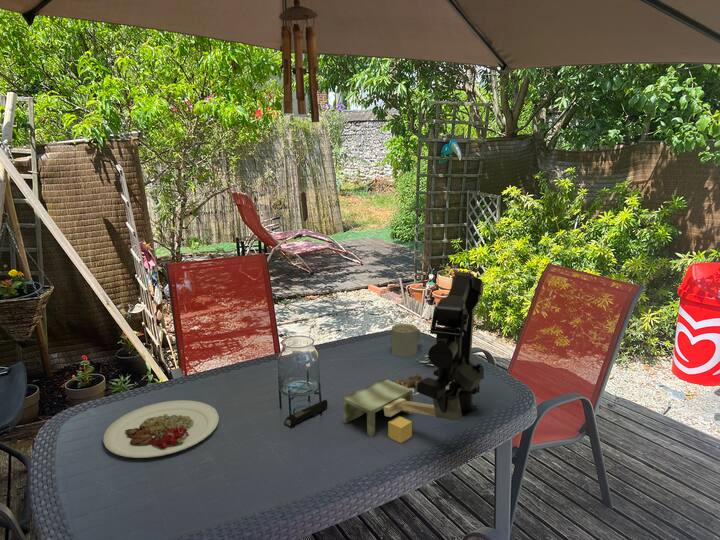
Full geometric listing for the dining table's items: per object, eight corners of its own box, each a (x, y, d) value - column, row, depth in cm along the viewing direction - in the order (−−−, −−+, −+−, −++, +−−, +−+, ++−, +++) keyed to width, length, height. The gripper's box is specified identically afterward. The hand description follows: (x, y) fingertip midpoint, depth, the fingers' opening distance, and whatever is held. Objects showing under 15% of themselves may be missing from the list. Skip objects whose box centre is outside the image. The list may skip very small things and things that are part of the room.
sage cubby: (384, 401, 156) (384, 378, 155) (412, 413, 149) (412, 389, 147) (343, 422, 144) (342, 397, 143) (371, 436, 137) (370, 411, 135)
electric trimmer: (330, 410, 152) (330, 401, 152) (291, 429, 141) (291, 419, 141) (322, 406, 155) (322, 397, 154) (283, 425, 144) (282, 415, 143)
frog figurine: (414, 378, 174) (414, 367, 173) (432, 392, 163) (432, 381, 162) (384, 384, 169) (384, 373, 169) (400, 399, 159) (400, 388, 158)
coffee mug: (400, 359, 189) (400, 333, 187) (386, 350, 197) (386, 326, 195) (429, 352, 195) (430, 327, 193) (415, 344, 203) (415, 320, 201)
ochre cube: (399, 430, 140) (399, 415, 139) (411, 436, 137) (411, 421, 136) (388, 437, 137) (388, 422, 136) (400, 443, 133) (401, 428, 132)
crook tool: (402, 406, 142) (399, 389, 142) (461, 416, 127) (458, 396, 127) (384, 415, 137) (381, 397, 136) (444, 427, 122) (441, 407, 122)
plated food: (166, 398, 161) (165, 388, 160) (241, 418, 148) (240, 407, 147) (78, 446, 135) (77, 434, 134) (160, 475, 122) (159, 462, 121)
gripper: (454, 372, 113) (452, 436, 116) (497, 350, 126) (495, 407, 129) (415, 359, 121) (414, 419, 124) (460, 339, 134) (458, 394, 137)
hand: (447, 409), depth 128 cm, fingers closed on crook tool, 3 cm apart
